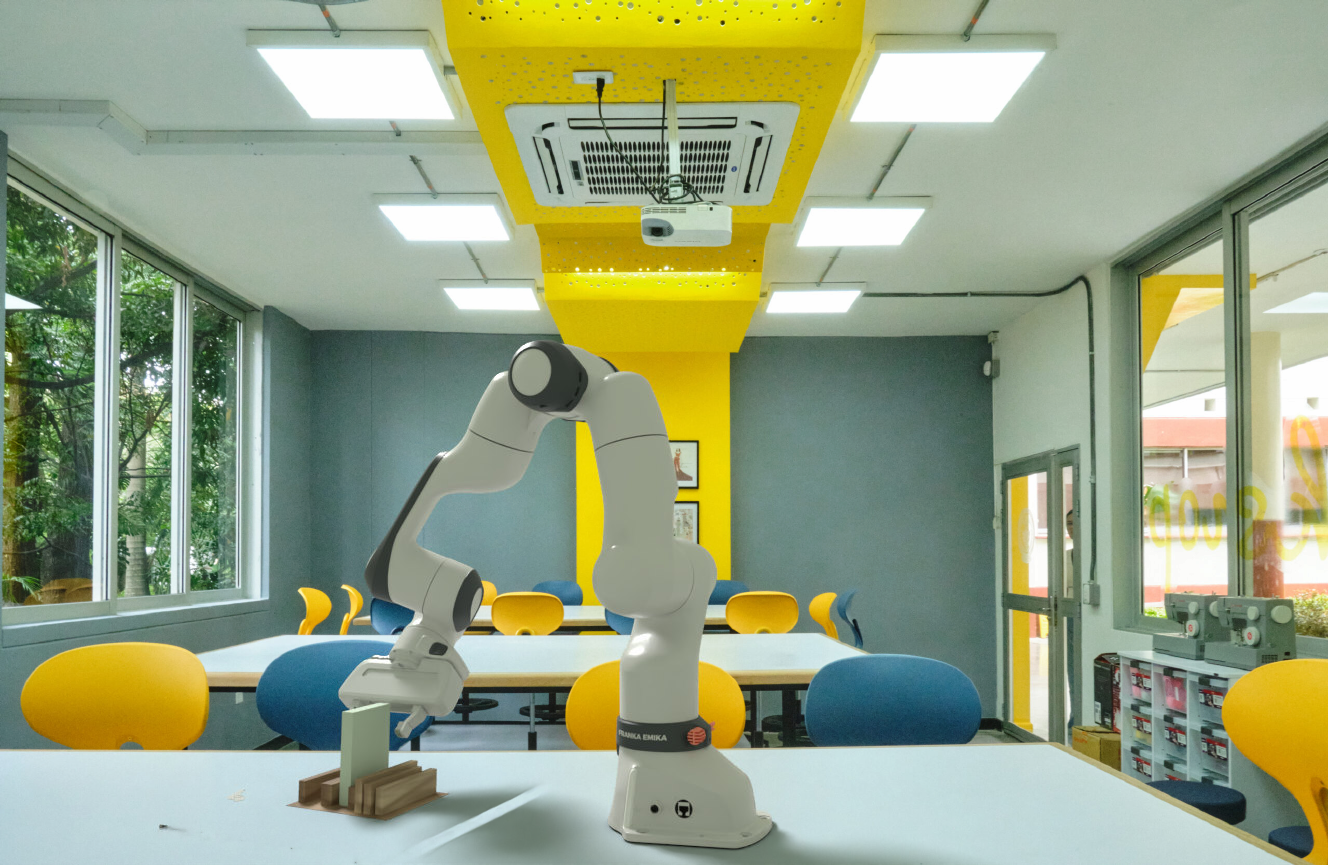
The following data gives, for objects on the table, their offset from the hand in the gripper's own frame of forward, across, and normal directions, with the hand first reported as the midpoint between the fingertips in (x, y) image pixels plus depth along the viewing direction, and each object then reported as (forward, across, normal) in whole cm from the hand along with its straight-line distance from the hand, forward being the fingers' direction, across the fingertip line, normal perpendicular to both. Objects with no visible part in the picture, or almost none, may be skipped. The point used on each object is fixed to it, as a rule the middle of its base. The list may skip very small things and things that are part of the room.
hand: (374, 732), depth 137 cm
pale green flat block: (+8, 0, +5) cm, 9 cm away
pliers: (+16, -17, -1) cm, 23 cm away
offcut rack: (+8, +1, +6) cm, 10 cm away
